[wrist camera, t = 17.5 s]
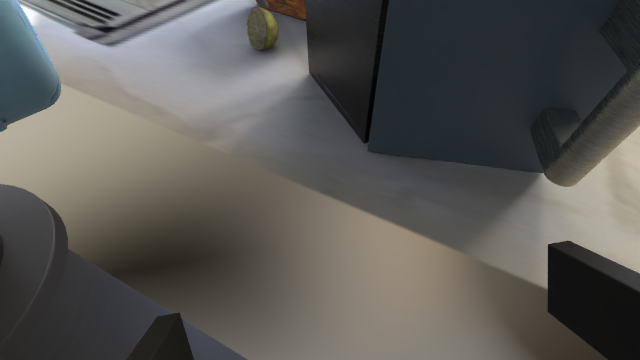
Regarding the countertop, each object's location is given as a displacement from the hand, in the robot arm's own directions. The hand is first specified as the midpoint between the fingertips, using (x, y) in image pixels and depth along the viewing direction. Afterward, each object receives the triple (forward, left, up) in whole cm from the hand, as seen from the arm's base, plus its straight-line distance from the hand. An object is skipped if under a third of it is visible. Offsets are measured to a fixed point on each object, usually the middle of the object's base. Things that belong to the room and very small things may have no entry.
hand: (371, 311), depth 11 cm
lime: (+7, +39, -11) cm, 41 cm away
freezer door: (+15, +8, -11) cm, 20 cm away
